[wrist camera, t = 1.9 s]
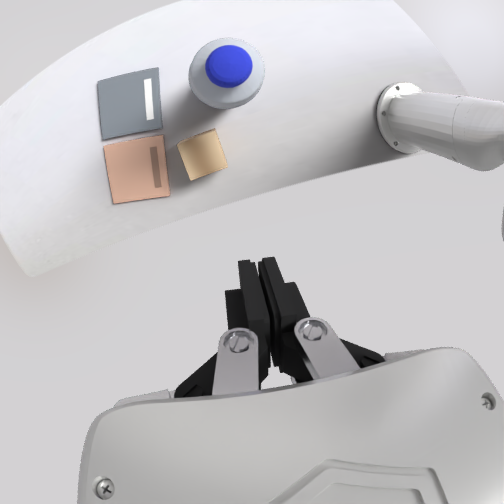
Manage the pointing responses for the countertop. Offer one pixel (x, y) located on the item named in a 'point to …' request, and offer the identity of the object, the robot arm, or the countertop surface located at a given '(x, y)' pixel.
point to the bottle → (226, 73)
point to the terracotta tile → (137, 169)
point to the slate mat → (130, 103)
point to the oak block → (202, 154)
